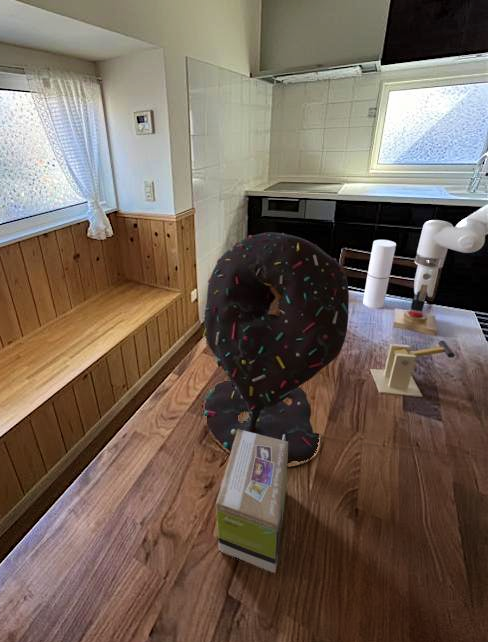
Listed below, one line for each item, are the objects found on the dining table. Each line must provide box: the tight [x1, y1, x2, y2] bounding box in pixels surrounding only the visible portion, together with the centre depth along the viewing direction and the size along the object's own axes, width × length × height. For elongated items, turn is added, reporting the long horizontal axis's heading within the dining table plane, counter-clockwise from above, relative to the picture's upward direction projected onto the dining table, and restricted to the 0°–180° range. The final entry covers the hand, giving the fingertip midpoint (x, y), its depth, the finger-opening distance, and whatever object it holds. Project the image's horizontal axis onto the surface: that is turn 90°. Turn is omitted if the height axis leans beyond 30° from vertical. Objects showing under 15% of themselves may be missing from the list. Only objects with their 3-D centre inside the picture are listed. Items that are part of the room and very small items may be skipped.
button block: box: [392, 307, 438, 337], centre depth 115 cm, size 12×10×4 cm
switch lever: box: [394, 340, 455, 358], centre depth 86 cm, size 12×5×2 cm, turn 77°
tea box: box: [215, 429, 288, 574], centre depth 60 cm, size 15×10×15 cm, turn 159°
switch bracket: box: [370, 343, 423, 398], centre depth 89 cm, size 10×9×12 cm
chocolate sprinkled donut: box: [202, 231, 350, 464], centre depth 77 cm, size 30×32×45 cm
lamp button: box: [409, 308, 424, 318], centre depth 114 cm, size 4×4×2 cm
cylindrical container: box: [362, 239, 397, 309], centre depth 125 cm, size 7×7×25 cm
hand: (416, 309), depth 114 cm, fingers closed
